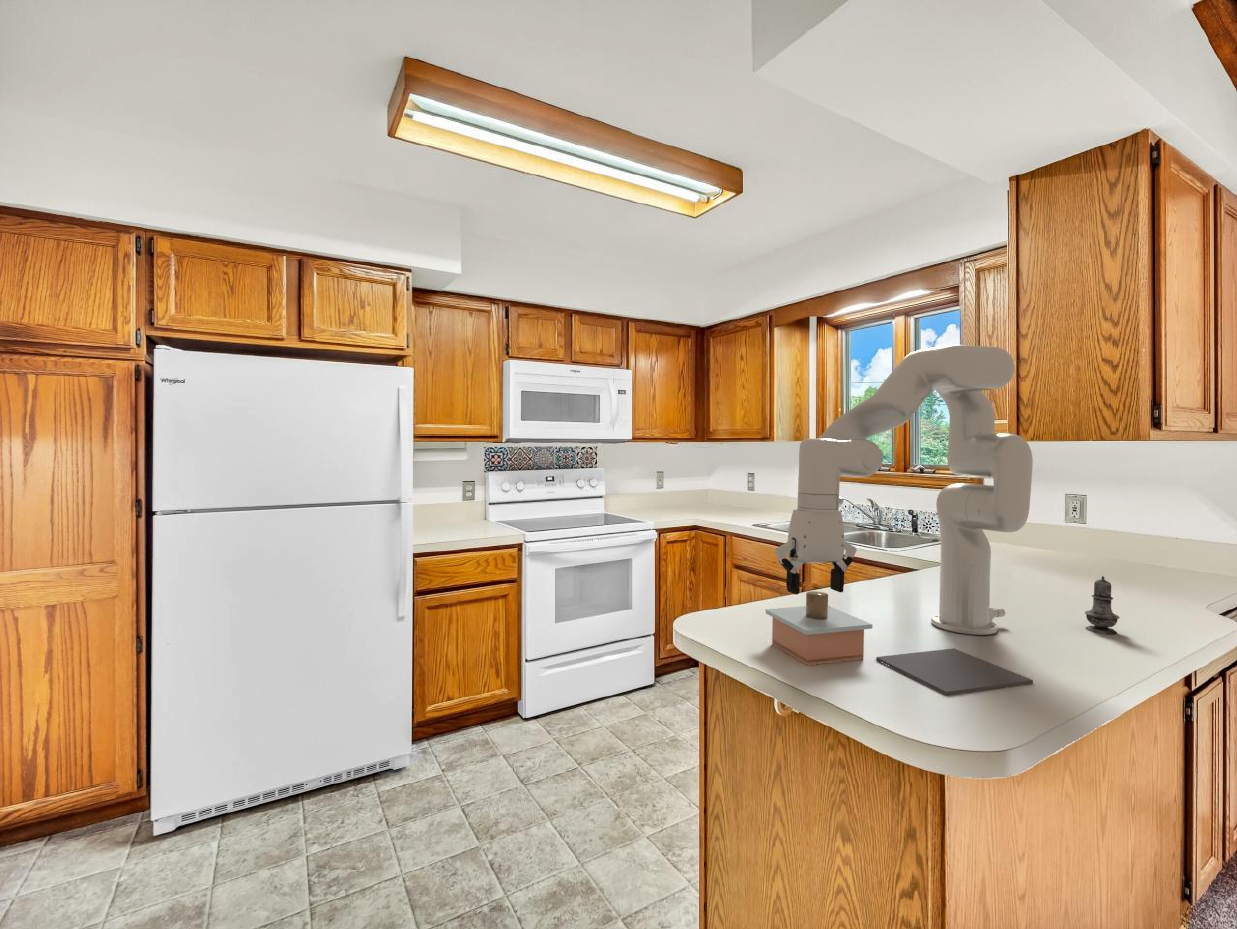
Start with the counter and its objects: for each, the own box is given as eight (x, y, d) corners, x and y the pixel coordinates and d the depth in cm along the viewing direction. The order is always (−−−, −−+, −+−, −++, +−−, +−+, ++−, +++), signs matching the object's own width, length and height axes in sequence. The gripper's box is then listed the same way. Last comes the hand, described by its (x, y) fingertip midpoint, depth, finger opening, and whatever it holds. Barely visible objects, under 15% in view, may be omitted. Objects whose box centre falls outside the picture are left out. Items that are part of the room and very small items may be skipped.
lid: (825, 611, 122) (826, 583, 122) (872, 631, 108) (872, 600, 108) (765, 616, 118) (765, 587, 118) (806, 638, 104) (806, 606, 104)
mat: (953, 651, 114) (954, 648, 114) (1032, 683, 98) (1032, 680, 98) (876, 660, 109) (876, 657, 109) (946, 695, 93) (946, 691, 93)
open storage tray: (823, 638, 121) (824, 610, 121) (863, 659, 109) (864, 627, 109) (772, 644, 117) (772, 614, 117) (807, 665, 106) (807, 632, 106)
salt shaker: (1115, 636, 123) (1117, 580, 123) (1080, 630, 128) (1082, 575, 127) (1121, 631, 127) (1123, 576, 127) (1087, 625, 131) (1089, 571, 131)
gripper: (843, 501, 118) (841, 585, 119) (767, 501, 114) (764, 589, 114) (869, 504, 111) (866, 594, 112) (789, 504, 106) (786, 598, 107)
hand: (815, 591), depth 113 cm, fingers open, 9 cm apart
